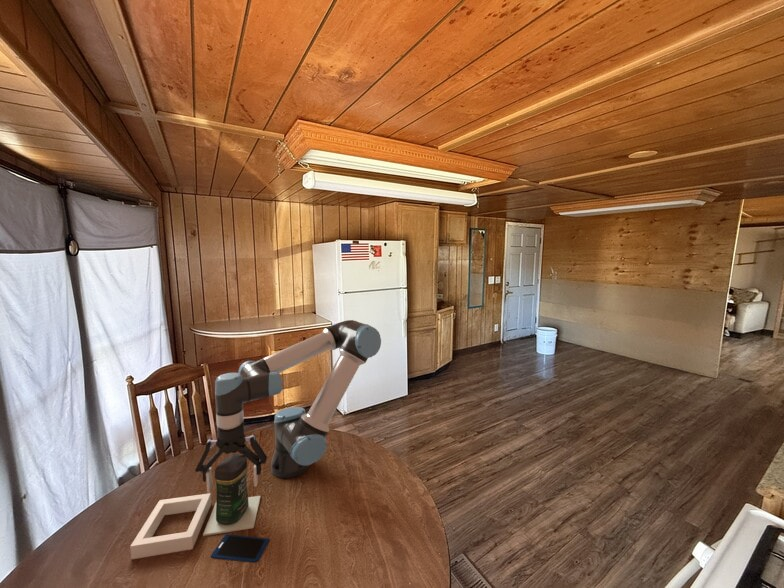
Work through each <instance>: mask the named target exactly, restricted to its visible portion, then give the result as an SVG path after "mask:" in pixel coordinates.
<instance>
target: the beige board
mask: <svg viewBox="0 0 784 588" xmlns="http://www.w3.org/2000/svg"><path fill="white" fill-rule="evenodd" d="M261 497H262V496H261V495H256V496H248V504H249V505H248V508H247V510H246V512H245V513H244V514H243V516H242V517H241V518H240V519H239V520H238V521H237V522H236V523H234V524H229V525H223V524H220V523H218V522H217V521H216V502H215V503H214V506H213V509H212V512H211V514H210V516H209V519H208V521H207V523H206V526H205V529H204V531H203V534H202V536H203V537H207V536H213V535H218V534H220V535H221V534H224V533H225V534H226V533H230V532H231V533H232V532H236V531H237V532H239V531H242V530H243V531H244V530H248V529H249V530H250V529H254V528H255V523H256V519H257V514H258V511H259V506H260V501H261Z"/></svg>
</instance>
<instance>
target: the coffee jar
mask: <svg viewBox="0 0 784 588" xmlns="http://www.w3.org/2000/svg"><path fill="white" fill-rule="evenodd" d="M247 470H248V458H247V457H245V456H244V455H243V454H241V453H232V454H230V455H229V456H227V457H225V459H223V460H222V461H221V462H220V463H219V464H218V465H217V466H216V467H215V469H214V481H215V483H216V485H215V486H216V501H215V503H216V521H217V522H218V523H220V524H223V525H229V524H234V523H236V522H237V521H238V520H239V519H240V518H241V517H242V516H243V514H244V513H245V512H246V510H247V508H248V505H249V504H248V497H249V494H248V485H247V483H248V482H247Z"/></svg>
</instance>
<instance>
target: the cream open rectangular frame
mask: <svg viewBox="0 0 784 588" xmlns="http://www.w3.org/2000/svg"><path fill="white" fill-rule="evenodd" d="M211 505H212V494H211V492H210V493H202V494H195V495H188V496H179V497H174V498H173V497H172V498H167V499H159V501H158V502H157V504H156V505H155V507H154V509H152V511H151V513H150V514H149V516H148V518H147V519H146V520H145V522H144V524H143V525H142V527H141V529H140V530H139V532H138V533H137V535H136V537H135V538H134V540H133V541H132V543H131V544H130V546H129V547H130V559H131V560H136V559H137V560H138V559H142V558H148V557H154V556H159V555H164V554H165V555H166V554H171V553H178V552H184V551H190V550H194V547H195V545H196V543H197V540H198V537H199V534H200V532H201V529H202V527H203V524H205V520H206V517H207V515H208V513H209V510H210V508H211ZM189 512H194V515H193V517H192V520H191V521H190V524H189V526H188V528H187V530H186V531H182V532H178V533H177V532H176V533H171V534H164V535H158V536H154V534H155V533H156V531H157V529H158V527H159V525H160V524H161V522H162V521H163V518H164V517H165V516H168V515H169V516H170V515H176V514H182V513H183V514H184V513H189Z"/></svg>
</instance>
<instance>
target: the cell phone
mask: <svg viewBox="0 0 784 588" xmlns="http://www.w3.org/2000/svg"><path fill="white" fill-rule="evenodd" d="M269 542H270V539H269V538H266V537H259V536H258V537H257V536H256V537H255V536H247V535H237V534H236V535H235V534H225V535H224V536H223V537H222V539H221V540H220V542H219V543H218V545H217V546H216V547H215V549H214V550H213V552H212V553H211V554H210V558H211V559H218V560H224V561H225V560H227V561H236V562H244V563H255V564H256V563H258V562H259V561H260V560H261V557H262V556H263V554H264V553H265V550H266V549H267V546H268V544H269Z"/></svg>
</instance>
